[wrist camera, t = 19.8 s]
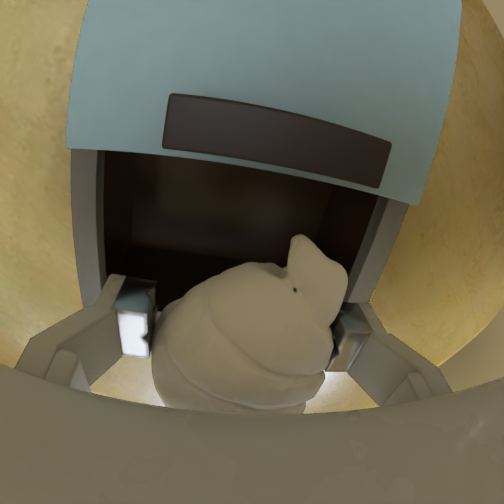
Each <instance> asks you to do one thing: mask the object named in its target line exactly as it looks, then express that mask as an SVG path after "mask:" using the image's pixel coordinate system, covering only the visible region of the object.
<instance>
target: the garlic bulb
mask: <svg viewBox="0 0 504 504" xmlns="http://www.w3.org/2000/svg"><path fill="white" fill-rule="evenodd" d="M347 285H348V276H347V273H346V270H345V269H344V268H343V266H342V265H340V264H339V263H338V262H335V261H333V260H331V259H329V258H328V257H326V256H325V255H324V254H323V253H322V251H321V250H320V249H319V248H318V247H317V246H316V245H315V244H314V243H313V242H312V241H311V240H310V239H309V238H307V237H306V236H304V235H302V234H299V235H296V236H294V237H293V238H292V239H291V243H290V250H289V255H288V261H287V266H286V267H284V268H281V267H279V266H278V265H276V264H274V263H257V262H248V263H244V264H242V265H239V266H236V267H233V268H230V269H228V270H226V271H224V272H222V273H221V274H220V275H216V276H213V277H211V278H209V279H207V280H206V281H204V282H202V283H200V284H198V285H196V286H195V287H193V288H192V289H190V290H189V291H188V292H187V293H186V294H185V295H184V297H182V298H180V299H178V300H175V301H173V302H171V303H170V304H168V305H167V306H166V307H165V308H164V309H163V311H162V312H161V314H160V316H159V318H158V320H157V322H156V325H155V327H154V331H153V338H152V348H151V354H152V375H153V380H154V384H155V388H156V390H157V392H158V394H159V396H160V397H161V399H162V401H163V403H164V404H165V406H166V407H169V408H177V409H185V410H194V411H205V412H218V413H234V414H303V412H304V410H305V407H306V401H308V400H310V399H312V398H313V397H314V396H315V395H316V393H317V392H318V390H319V389H320V387H321V385H322V384H323V382H324V379H325V374H324V371H323V370H324V369H325V368H326V367H327V366H328V363H329V360H330V356H331V353H332V350H333V346H334V344H333V339H332V332H331V329H330V327H329V326H330V325H331V324H332V322H333V321H334V320H335V318H336V316H337V314H338V312H339V310H340V308H341V305H342V302H343V299H344V296H345V293H346V289H347Z"/></svg>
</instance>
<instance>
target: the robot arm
mask: <svg viewBox="0 0 504 504" xmlns="http://www.w3.org/2000/svg"><path fill="white" fill-rule="evenodd" d="M157 296H158V281H153V280H147V279H141V278H136V277H130V276H124V275H118V274H111V275H110V276H109V277H108V279H107V281H106V283H105V285H104V287H103V289H102V291H101V293H100V294H99V296H98V298H97V300H96V302H95V304H94V306H93V305H88V306H87V307H85V308H83V309H81V310H79V311H78V312H76V313H74V314H72V315H70V316H69V317H67V318H65V319H63V320H62V321H60V322H58V323H56V324H54V325H53V326H51V327H49V328H47V329H46V330H44V331H42V332H40V333H39V334H37V335H35V336H33V337H32V338H30V340H29V342H28V344H27V345H26V347H25V349H24V351H23V353H22V355H21V357H20V358H19V360H18V362H17V364H16V366H15V368H14V369H13V368H11V367H8V366H6V365H3V364H1V363H0V504H504V377H502V378H499V379H497V380H493V381H490V382H487V383H484V384H481V385H478V386H474V387H471V388H467V389H464V390H460V391H456V392H452V390H451V388H450V386H449V385H448V383H447V381H446V379H445V378H444V376H443V374H442V372H441V371H440V369H439V368H438V367H437V366H435V365H434V364H432V363H431V362H430V361H428V360H427V359H426V358H424V357H423V356H421V355H420V354H419V353H417V352H416V351H414V350H413V349H412V348H410V347H409V346H407V345H406V344H405V343H403V342H402V341H400V340H399V339H398V338H396V337H395V336H393V335H392V334H387V332H386V330H385V329H384V327H383V325H382V323H381V322H380V320H379V318H378V317H377V315H376V313H375V311H374V310H373V308H372V306H371V305H370V304H369V303H362V302H355V303H352V302H342V305H341V308H340V310H339V312H338V314H337V316H336V318H335V320H334V321H333V322H332V324H331V325H330V326H329V327H330V329H331V332H332V339H333V344H334V346H333V350H332V353H331V356H330V360H329V363H328V366H327V367H326V368H325V369H324V370H325V372H347V373H348V374H349V375H350V376H351V377H352V378H353V379H354V380H355V381H356V382H357V384H358V385H359V386H360V387H361V388H362V389H363V390H364V391H365V392H366V393H367V394H368V395H369V396H370V397H371V398H372V399H373V400H374V401H375V402H376V403H377V404H378V405H379V406H380V407H375V408H368V409H359V410H350V411H340V412H328V413H311V414H234V413H218V412H205V411H194V410H185V409H177V408H169V407H162V406H155V405H149V404H143V403H137V402H131V401H126V400H121V399H116V398H112V397H107V396H103V395H98V394H94V393H91V390H90V386H91V385H92V384H93V383H94V382H95V381H96V380H97V379H98V378H99V377H100V376H101V375H103V374H104V373H105V372H106V371H107V370H108V369H109V368H110V367H111V366H112V365H113V364H115V363H116V362H117V361H118V360H119V359H120V358H121V357H122V355H126V356H133V357H140V358H147V359H149V357H150V353H151V348H152V338H153V331H154V327H155V325H156V322H157V319H158V303H157V301H156V300H157Z"/></svg>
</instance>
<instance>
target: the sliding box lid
mask: <svg viewBox="0 0 504 504" xmlns="http://www.w3.org/2000/svg"><path fill="white" fill-rule="evenodd" d="M461 9H462V0H89V1H88V4H87V8H86V12H85V15H84V19H83V23H82V27H81V31H80V36H79V40H78V45H77V50H76V55H75V61H74V66H73V72H72V79H71V86H70V94H69V103H68V114H67V127H66V146H65V147H66V148H68V149H92V150H109V151H123V152H135V153H146V154H156V155H165V156H174V157H183V158H191V159H198V160H206V161H213V162H220V163H226V164H233V165H239V166H245V167H251V168H257V169H262V170H268V171H273V172H279V173H284V174H289V175H294V176H299V177H304V178H308V179H313V180H318V181H322V182H327V183H331V184H335V185H340V186H344V187H348V188H352V189H356V190H360V191H364V192H368V193H372V194H376V195H379V196H383V197H387V198H391V199H394V200H398V201H401V202H405V203H408V204H412V205H415V206H418V205H419V202H420V199H421V196H422V193H423V190H424V188H425V185H426V182H427V179H428V175H429V172H430V169H431V166H432V163H433V159H434V156H435V153H436V149H437V146H438V142H439V138H440V135H441V131H442V127H443V123H444V119H445V115H446V110H447V106H448V101H449V97H450V92H451V87H452V81H453V76H454V70H455V64H456V57H457V50H458V42H459V33H460V22H461Z"/></svg>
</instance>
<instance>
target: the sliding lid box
mask: <svg viewBox="0 0 504 504" xmlns="http://www.w3.org/2000/svg"><path fill="white" fill-rule="evenodd" d="M71 206H72V224H73V236H74V247H75V256H76V265H77V272H78V279H79V286H80V292H81V298H82V304H83V308H85V307H87V306H88V305H93V306H94V304H95V302H96V300H97V298H98V296H99V294H100V293H101V291H102V289H103V287H104V285H105V283H106V281H107V279H108V277H109V276H110V275H111V274H118V275H124V276H130V277H136V278H141V279H147V280H153V281H158V296H157V300H156V301H157V303H158V318H159V316H160V314H161V312H162V311H163V309H164V308H165V307H166V306H167V305H168V304H170V303H171V302H173V301H175V300H178V299H180V298H182V297H184V295H185V294H186V293H187V292H188V291H189V290H190V289H192V288H193V287H195V286H196V285H198V284H200V283H202V282H204V281H206V280H207V279H209V278H211V277H213V276H216V275H220V274H221V273H222V272H224V271H226V270H228V269H230V268H233V267H236V266H239V265H242V264H244V263H248V262H257V263H274V264H276V265H278V266H279V267H281V268H284V267H286V266H287V261H288V255H289V250H290V243H291V239H292V238H293V237H294V236H296V235H299V234H302V235H304V236H306V237H307V238H309V239H310V240H311V241H312V242H313V243H314V244H315V245H316V246H317V247H318V248H319V249H320V250H321V251H322V253H323V254H324V255H325V256H326V257H328V258H329V259H331V260H333V261H335V262H338V263H339V264H340V265H342V266H343V268H344V269H345V270H346V273H347V276H348V285H347V289H346V293H345V296H344V299H343V302H352V303H355V302H362V303H368V301H369V299H370V297H371V295H372V293H373V291H374V288H375V286H376V284H377V282H378V280H379V278H380V275H381V273H382V271H383V269H384V267H385V264H386V262H387V260H388V257H389V255H390V253H391V250H392V248H393V245H394V243H395V241H396V238H397V236H398V233H399V231H400V228H401V225H402V223H403V220H404V218H405V215H406V212H407V210H408V207H409V204H408V203H405V202H401V201H398V200H394V199H391V198H387V197H383V196H379V195H376V194H372V193H368V192H364V191H360V190H356V189H352V188H348V187H344V186H340V185H335V184H331V183H327V182H322V181H318V180H313V179H308V178H304V177H299V176H294V175H289V174H284V173H279V172H273V171H268V170H262V169H257V168H251V167H245V166H239V165H233V164H226V163H220V162H213V161H206V160H198V159H191V158H183V157H174V156H165V155H156V154H146V153H135V152H123V151H109V150H92V149H71ZM157 320H158V319H157Z"/></svg>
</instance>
